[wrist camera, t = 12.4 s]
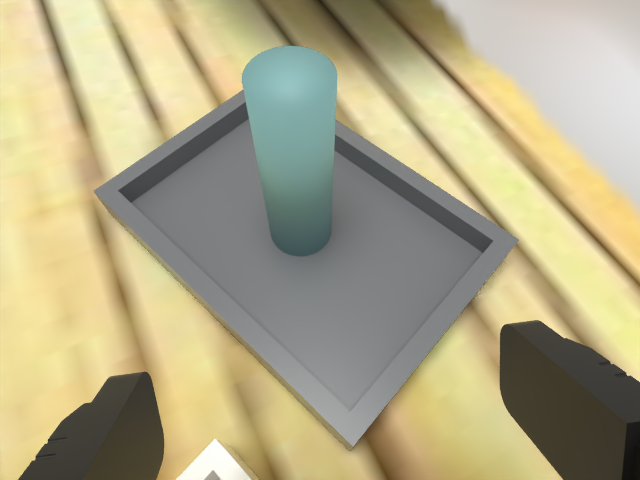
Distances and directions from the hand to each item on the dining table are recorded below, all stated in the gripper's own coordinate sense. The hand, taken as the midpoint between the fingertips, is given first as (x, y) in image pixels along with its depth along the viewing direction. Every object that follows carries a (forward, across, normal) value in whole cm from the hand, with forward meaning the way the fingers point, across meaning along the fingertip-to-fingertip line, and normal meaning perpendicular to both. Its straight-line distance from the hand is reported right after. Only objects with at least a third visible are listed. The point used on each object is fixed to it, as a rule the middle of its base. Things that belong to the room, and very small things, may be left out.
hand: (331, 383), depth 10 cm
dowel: (+17, 0, 0) cm, 17 cm away
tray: (+17, 0, +1) cm, 17 cm away
